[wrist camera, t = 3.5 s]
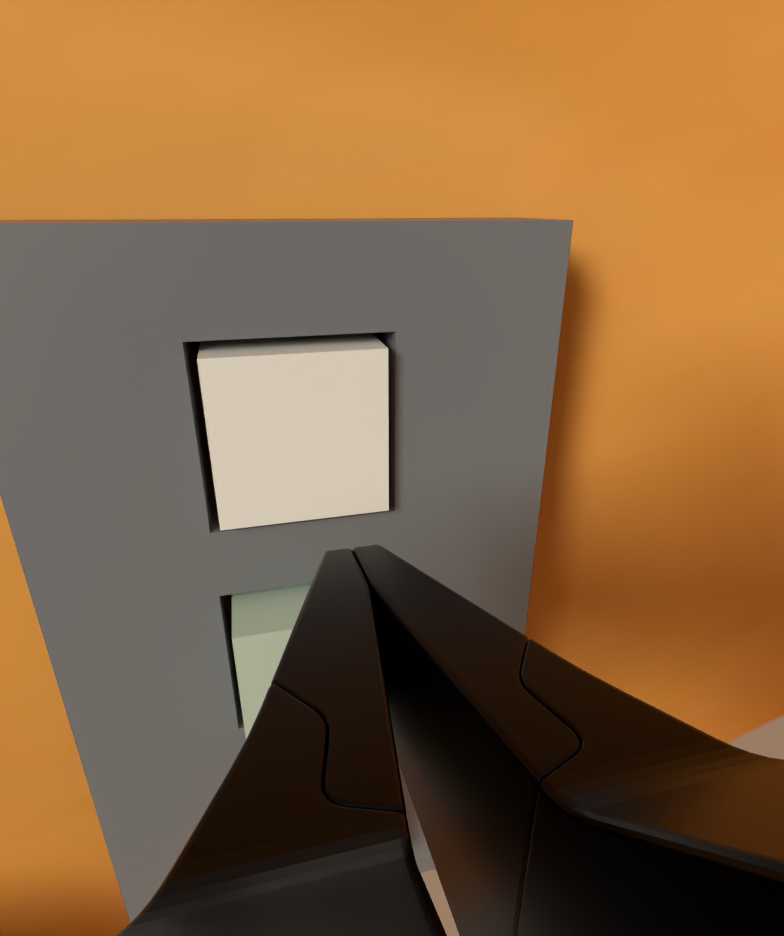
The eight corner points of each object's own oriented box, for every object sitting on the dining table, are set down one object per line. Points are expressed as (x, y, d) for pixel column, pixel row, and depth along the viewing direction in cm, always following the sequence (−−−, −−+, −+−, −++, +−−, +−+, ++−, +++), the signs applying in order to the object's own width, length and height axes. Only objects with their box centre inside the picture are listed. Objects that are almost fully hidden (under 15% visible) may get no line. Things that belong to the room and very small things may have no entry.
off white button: (221, 481, 18) (220, 530, 15) (202, 333, 16) (196, 359, 13) (366, 466, 19) (388, 510, 16) (363, 325, 17) (388, 348, 14)
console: (148, 864, 24) (137, 947, 21) (-24, 220, 14) (-82, 223, 11) (473, 787, 27) (499, 851, 24) (519, 218, 17) (573, 220, 14)
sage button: (246, 684, 20) (249, 760, 17) (231, 573, 18) (231, 638, 15) (375, 661, 20) (397, 730, 18) (374, 554, 19) (397, 611, 16)
